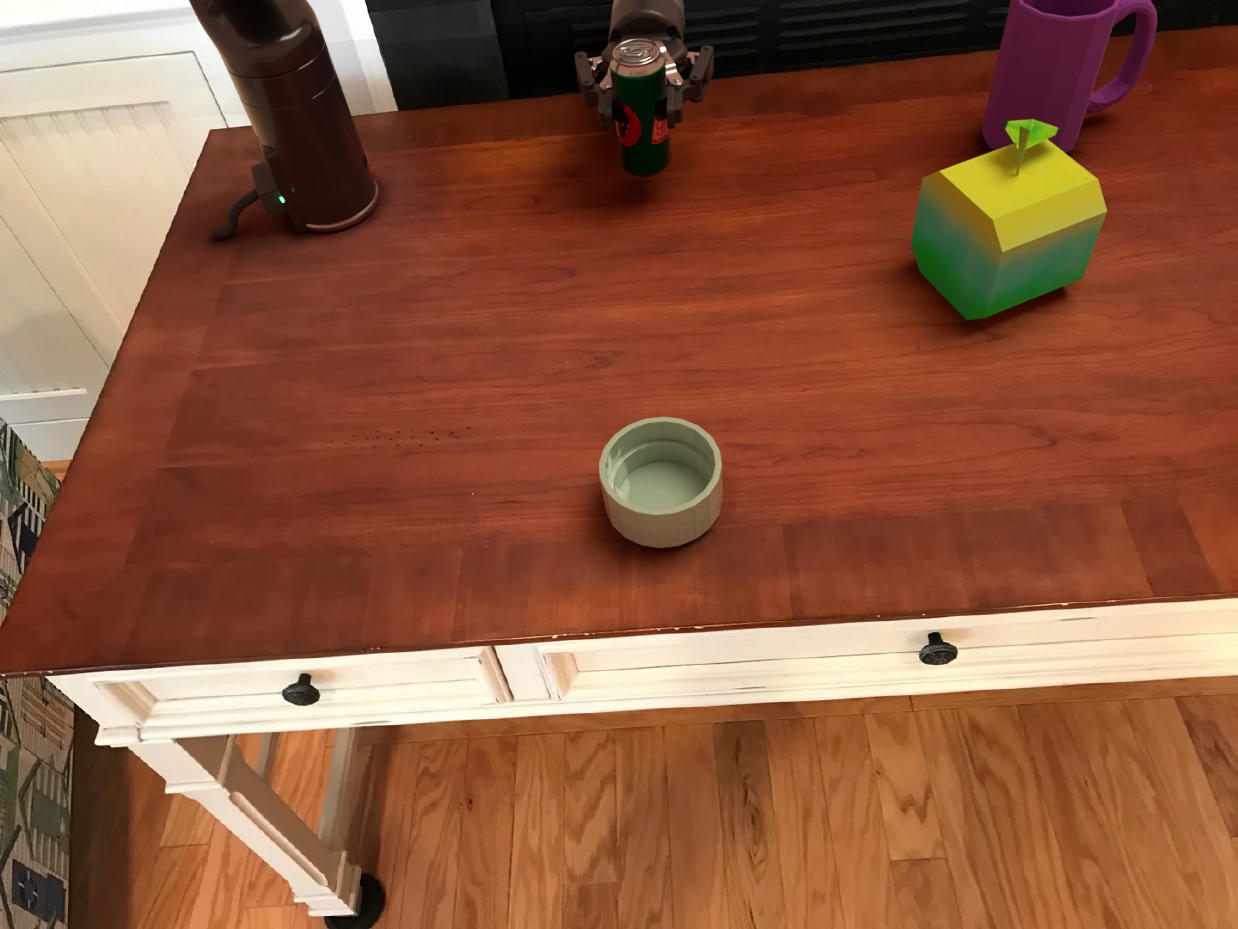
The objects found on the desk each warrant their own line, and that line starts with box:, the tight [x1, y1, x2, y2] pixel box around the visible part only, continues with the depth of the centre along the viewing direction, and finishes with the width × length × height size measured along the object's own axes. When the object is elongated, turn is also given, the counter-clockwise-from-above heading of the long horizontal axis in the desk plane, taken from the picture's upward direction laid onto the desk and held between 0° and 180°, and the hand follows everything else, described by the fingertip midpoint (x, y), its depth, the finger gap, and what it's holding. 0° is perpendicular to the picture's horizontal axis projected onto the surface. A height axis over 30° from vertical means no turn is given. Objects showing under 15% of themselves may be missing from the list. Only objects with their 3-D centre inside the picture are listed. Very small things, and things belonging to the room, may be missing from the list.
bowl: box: [598, 416, 724, 549], centre depth 74 cm, size 9×9×5 cm
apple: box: [910, 119, 1108, 321], centre depth 82 cm, size 11×10×15 cm
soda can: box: [610, 39, 672, 179], centre depth 92 cm, size 5×5×12 cm
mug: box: [981, 0, 1158, 154], centre depth 93 cm, size 9×16×15 cm, turn 106°
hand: (640, 121), depth 90 cm, fingers closed on soda can, 5 cm apart
